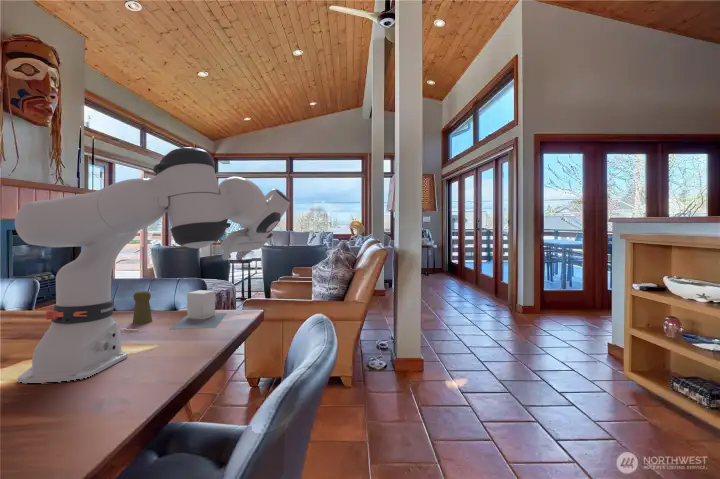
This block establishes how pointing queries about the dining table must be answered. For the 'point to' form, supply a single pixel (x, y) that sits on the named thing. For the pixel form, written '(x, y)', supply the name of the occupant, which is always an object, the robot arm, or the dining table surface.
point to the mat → (199, 322)
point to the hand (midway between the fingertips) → (232, 257)
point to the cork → (142, 308)
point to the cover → (200, 304)
